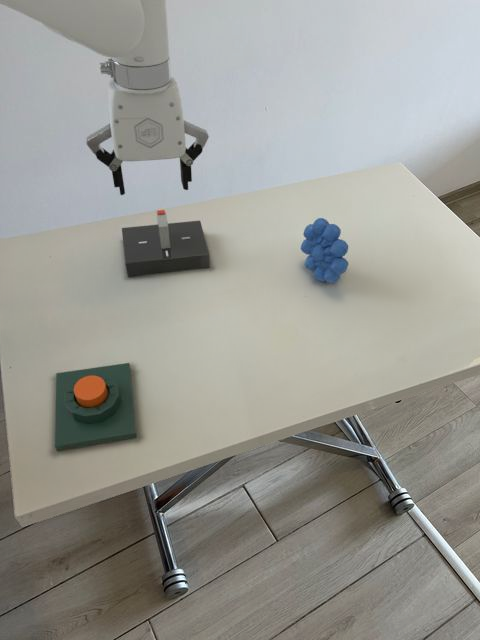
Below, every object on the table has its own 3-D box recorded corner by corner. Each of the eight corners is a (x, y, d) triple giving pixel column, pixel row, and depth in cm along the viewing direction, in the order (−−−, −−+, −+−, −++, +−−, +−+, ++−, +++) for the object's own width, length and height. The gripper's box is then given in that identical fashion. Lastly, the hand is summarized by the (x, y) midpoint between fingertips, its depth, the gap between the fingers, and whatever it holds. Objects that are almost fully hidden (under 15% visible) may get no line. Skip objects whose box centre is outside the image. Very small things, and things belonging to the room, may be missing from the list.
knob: (170, 248, 90) (168, 225, 87) (161, 249, 90) (158, 225, 87) (167, 232, 93) (164, 209, 90) (158, 233, 93) (156, 209, 90)
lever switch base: (127, 277, 90) (125, 262, 87) (124, 241, 96) (121, 227, 94) (209, 268, 92) (209, 253, 90) (200, 233, 99) (200, 219, 96)
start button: (76, 410, 68) (73, 402, 67) (76, 385, 71) (73, 377, 70) (108, 405, 69) (106, 397, 68) (107, 381, 72) (104, 373, 70)
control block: (56, 451, 67) (50, 438, 65) (58, 378, 75) (52, 364, 73) (136, 437, 69) (133, 424, 67) (130, 367, 77) (127, 354, 74)
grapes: (359, 292, 90) (374, 234, 81) (326, 304, 88) (337, 245, 79) (321, 253, 96) (331, 195, 87) (290, 263, 94) (296, 205, 85)
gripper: (73, 85, 66) (97, 206, 78) (211, 80, 69) (213, 196, 82) (72, 62, 70) (95, 179, 83) (202, 58, 74) (205, 171, 86)
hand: (153, 187), depth 82 cm, fingers open, 9 cm apart
